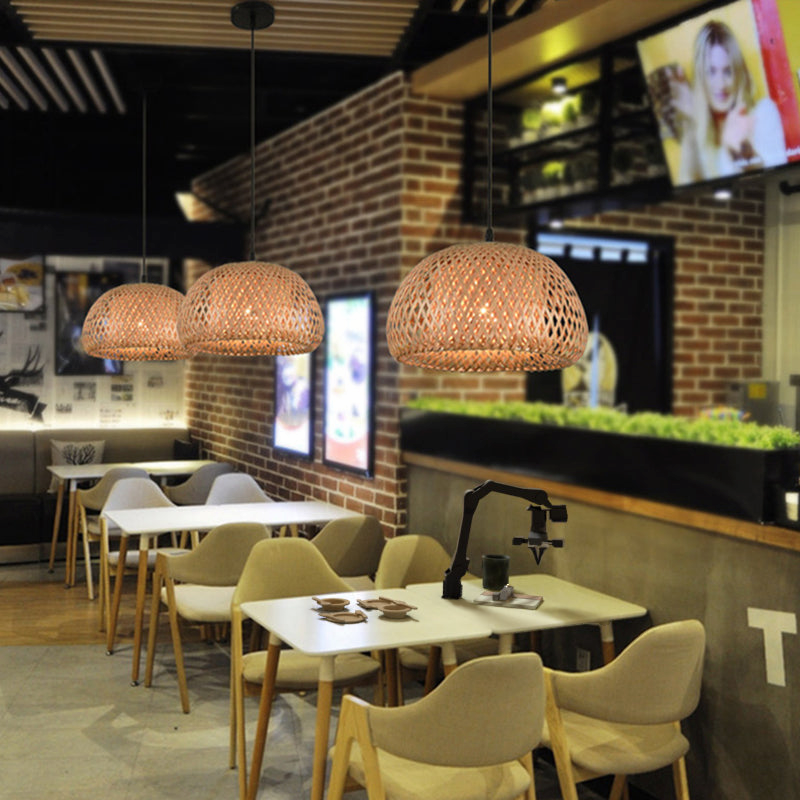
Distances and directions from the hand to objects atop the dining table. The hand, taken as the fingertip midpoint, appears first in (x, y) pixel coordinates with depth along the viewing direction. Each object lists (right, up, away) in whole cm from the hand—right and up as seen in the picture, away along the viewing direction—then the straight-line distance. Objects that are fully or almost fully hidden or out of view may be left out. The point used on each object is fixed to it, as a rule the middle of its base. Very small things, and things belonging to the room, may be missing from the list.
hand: (538, 565), depth 379 cm
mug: (-15, -12, +21) cm, 28 cm away
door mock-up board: (-11, -12, -5) cm, 17 cm away
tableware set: (-64, -12, -29) cm, 71 cm away
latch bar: (-12, -11, -6) cm, 17 cm away
